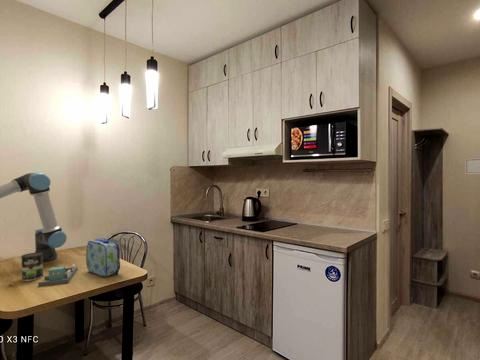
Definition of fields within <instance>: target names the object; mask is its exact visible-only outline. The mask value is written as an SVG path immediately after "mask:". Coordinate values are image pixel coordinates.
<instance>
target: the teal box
mask: <svg viewBox="0 0 480 360" xmlns="http://www.w3.org/2000/svg"><path fill="white" fill-rule="evenodd" d="M65 268H66V265H65V266H56V267H55V266H54V267H50V269H48V276H49V280H48V281H54V280H62V279H66V274H67V272H65Z"/></svg>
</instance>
